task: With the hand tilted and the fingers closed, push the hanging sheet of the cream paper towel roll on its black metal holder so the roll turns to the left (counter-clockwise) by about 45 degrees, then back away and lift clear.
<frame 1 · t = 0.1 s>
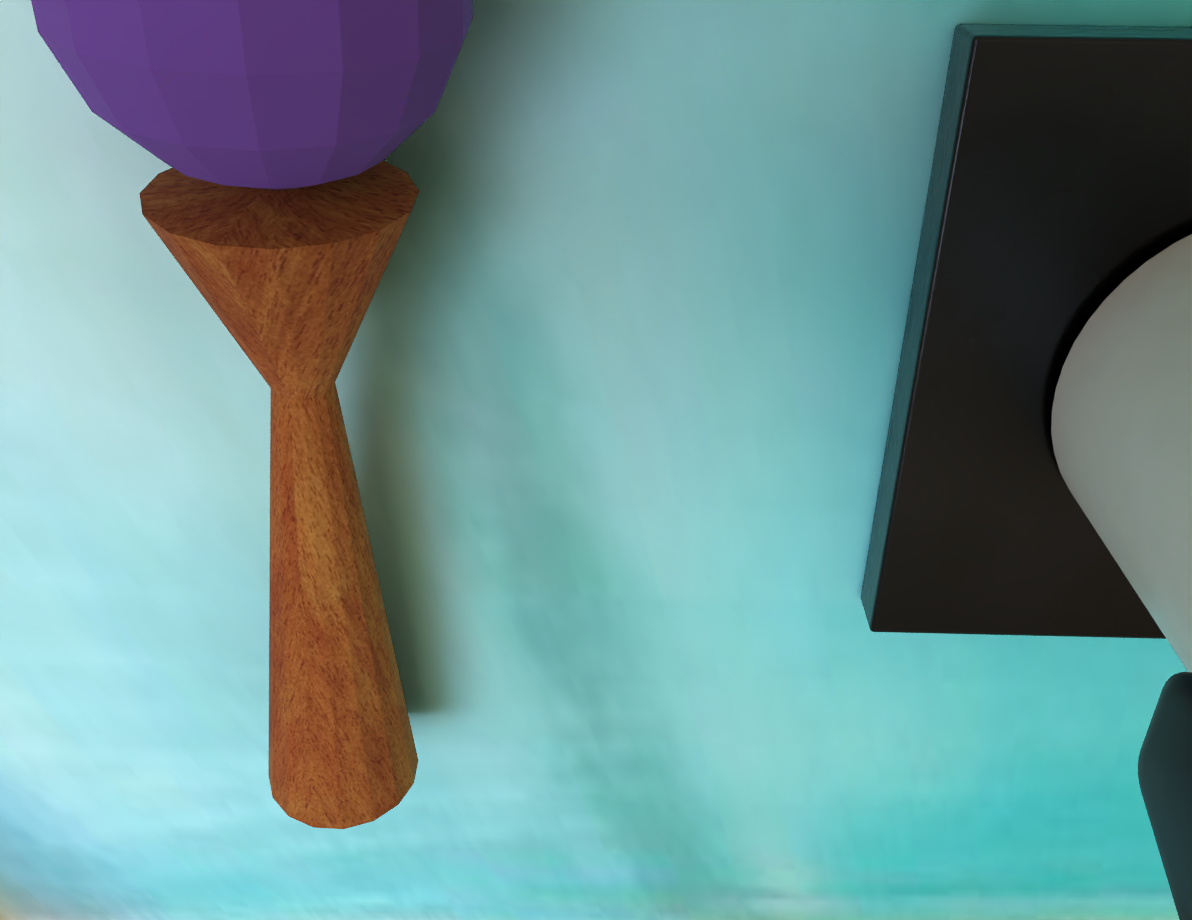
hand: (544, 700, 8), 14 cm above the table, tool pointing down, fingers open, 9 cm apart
kendama: (338, 336, 22), on the table
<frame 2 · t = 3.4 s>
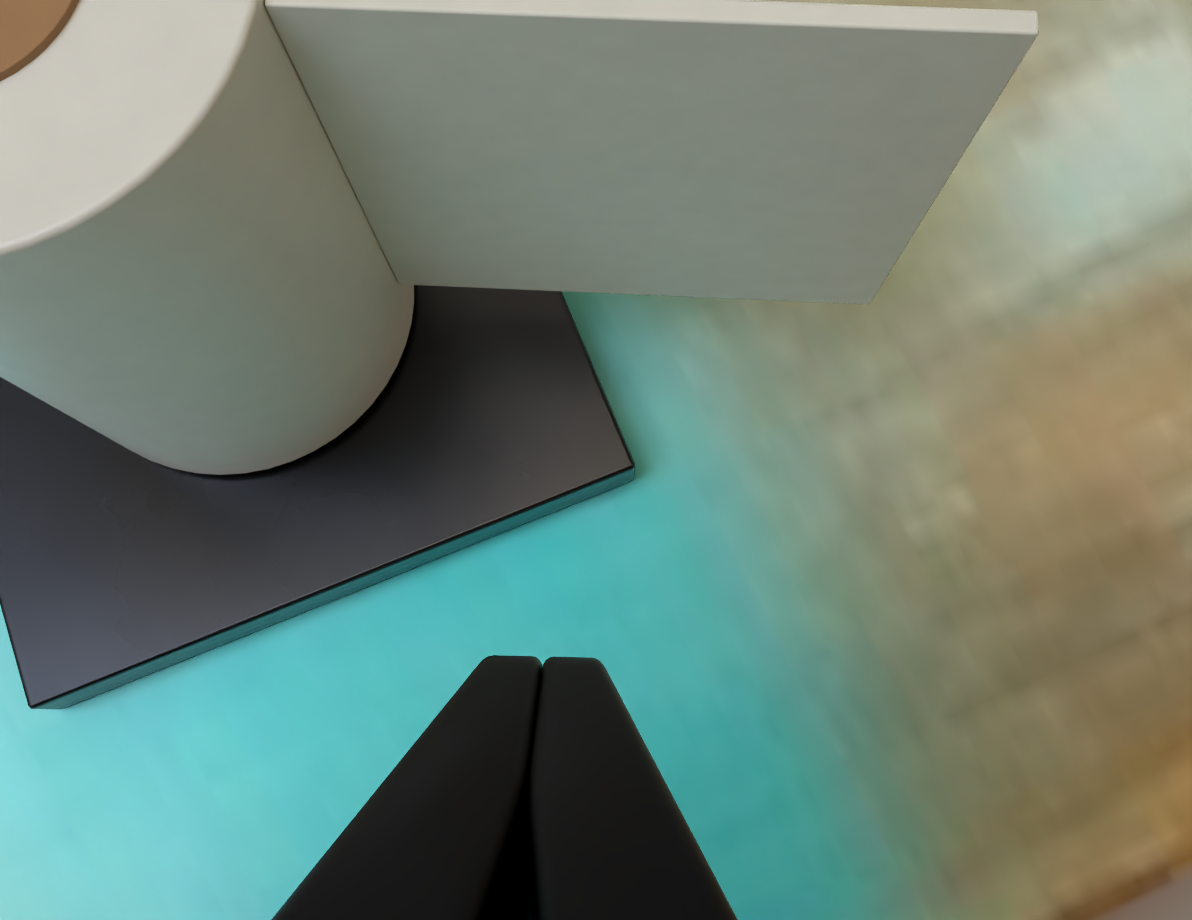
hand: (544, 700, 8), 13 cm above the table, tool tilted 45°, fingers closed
towel roll: (378, 143, 17), point 6 cm above the table, hinge at 0.0°
holder: (259, 326, 23), on the table
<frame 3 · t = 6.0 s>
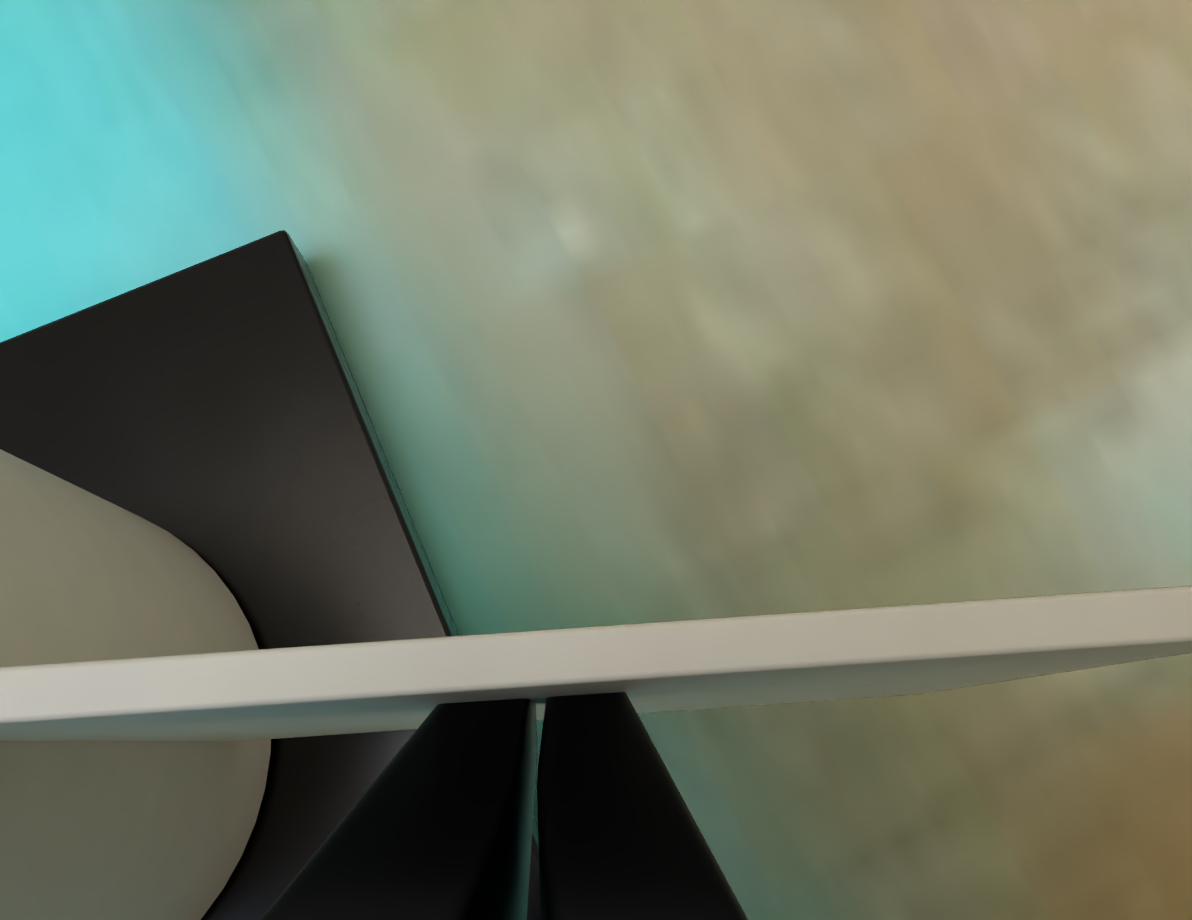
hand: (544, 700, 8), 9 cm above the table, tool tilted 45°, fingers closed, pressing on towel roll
towel roll: (147, 638, 11), point 6 cm above the table, hinge at 4.9°, touching gripper
holder: (67, 747, 16), on the table
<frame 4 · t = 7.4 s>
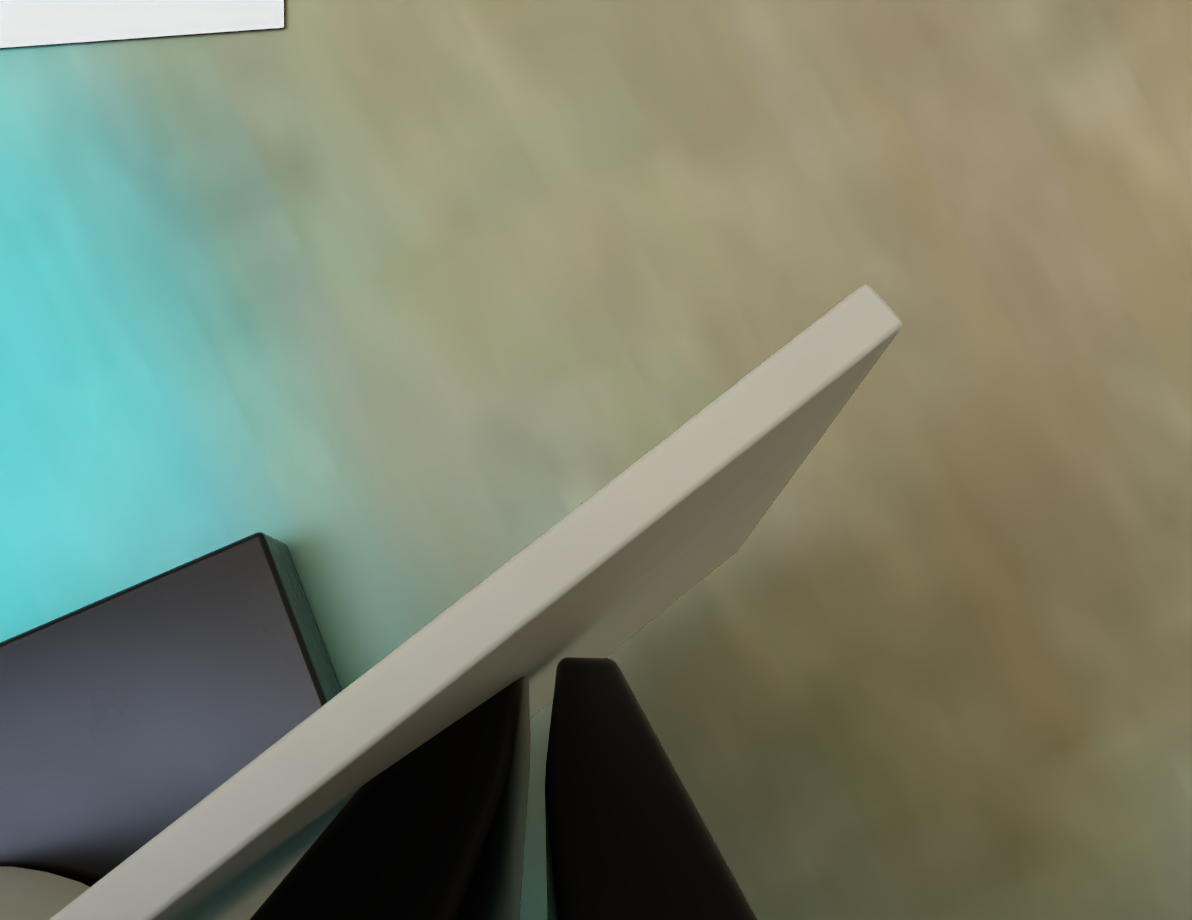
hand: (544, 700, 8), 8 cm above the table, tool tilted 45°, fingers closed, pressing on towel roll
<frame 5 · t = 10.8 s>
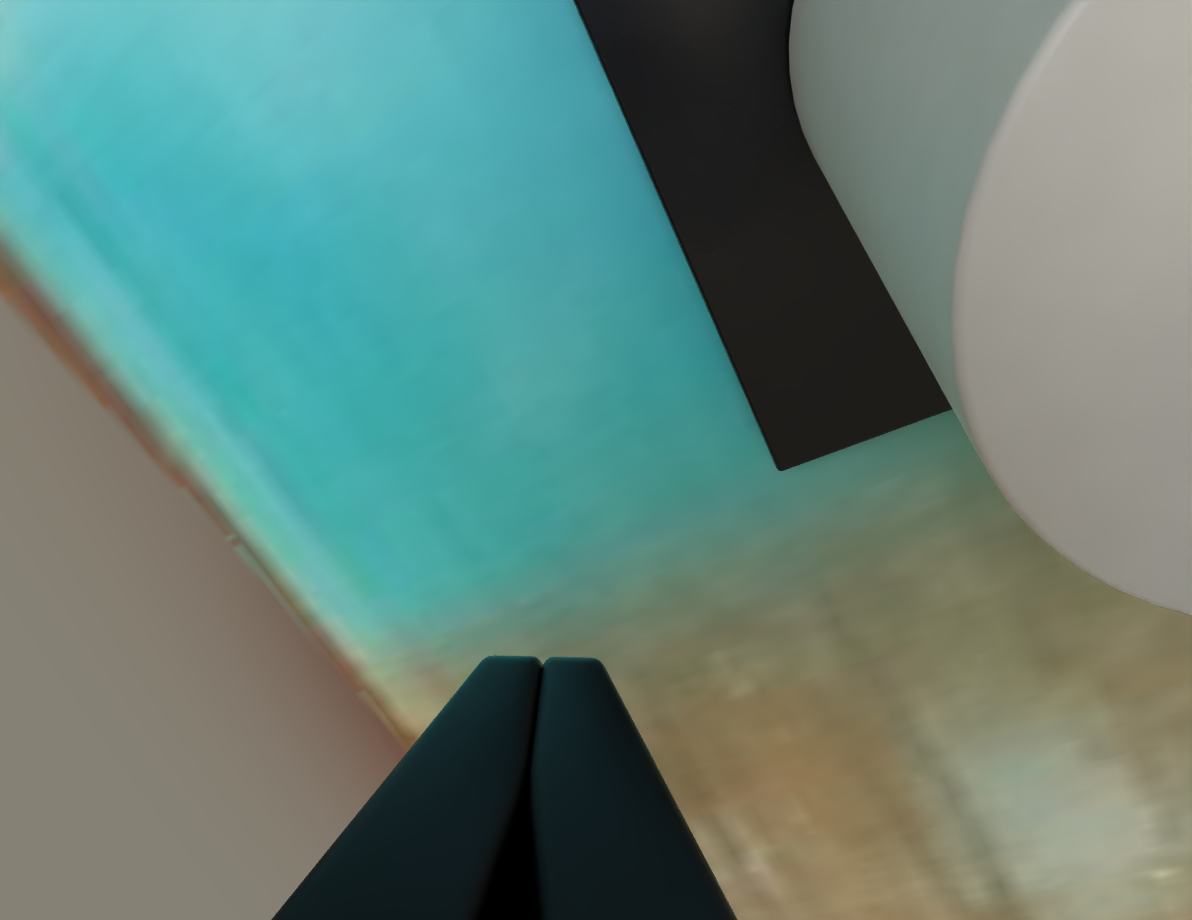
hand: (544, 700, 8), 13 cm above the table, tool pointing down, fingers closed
holder: (995, 15, 18), on the table
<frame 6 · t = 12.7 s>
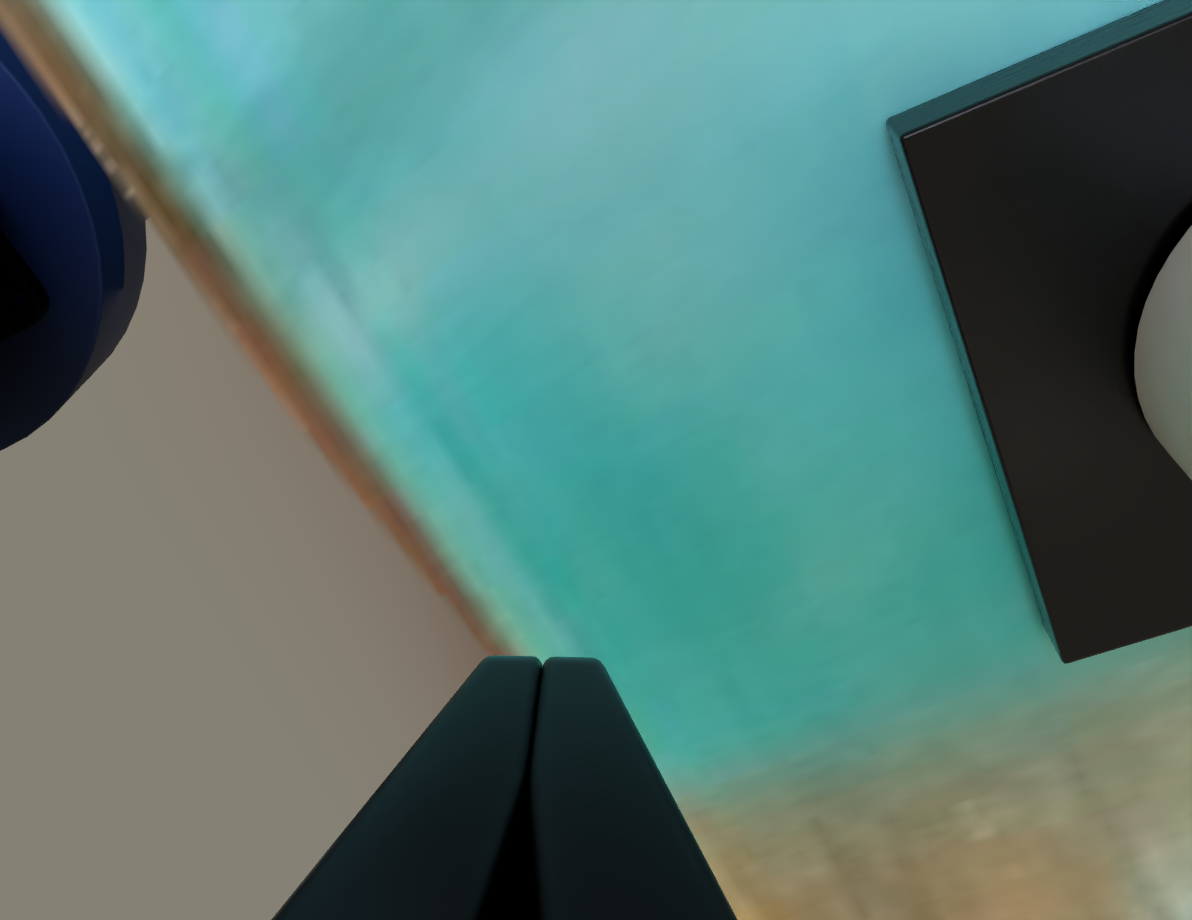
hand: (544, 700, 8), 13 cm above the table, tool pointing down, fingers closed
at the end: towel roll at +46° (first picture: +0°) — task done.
